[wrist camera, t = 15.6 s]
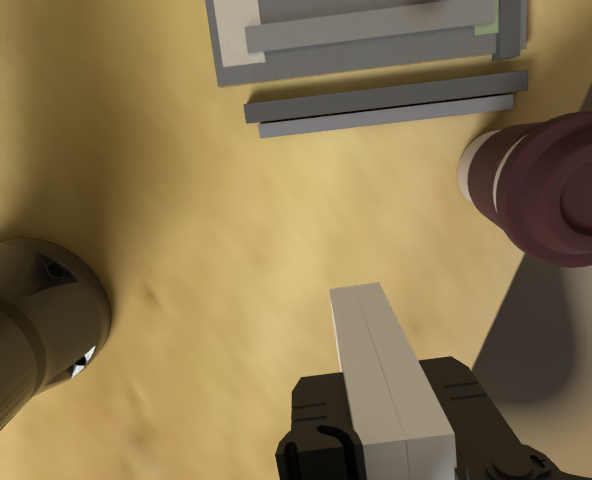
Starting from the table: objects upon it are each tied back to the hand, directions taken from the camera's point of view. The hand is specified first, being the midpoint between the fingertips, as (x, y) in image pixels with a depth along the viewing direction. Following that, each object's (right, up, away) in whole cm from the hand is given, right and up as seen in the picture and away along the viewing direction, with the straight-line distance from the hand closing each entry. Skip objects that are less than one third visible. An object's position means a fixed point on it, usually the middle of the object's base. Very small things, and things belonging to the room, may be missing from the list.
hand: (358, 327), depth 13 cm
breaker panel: (+4, +24, +24) cm, 34 cm away
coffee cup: (+16, +9, +28) cm, 33 cm away
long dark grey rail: (+6, +15, +26) cm, 30 cm away
